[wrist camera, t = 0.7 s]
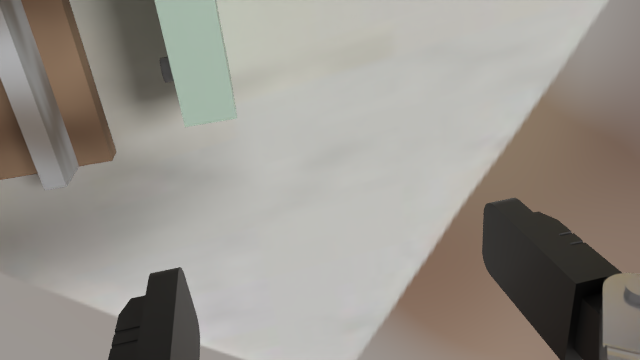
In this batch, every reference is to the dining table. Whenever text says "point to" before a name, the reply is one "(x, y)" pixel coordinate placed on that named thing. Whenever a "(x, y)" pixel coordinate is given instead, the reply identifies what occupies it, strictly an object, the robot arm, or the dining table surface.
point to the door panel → (196, 60)
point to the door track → (47, 95)
